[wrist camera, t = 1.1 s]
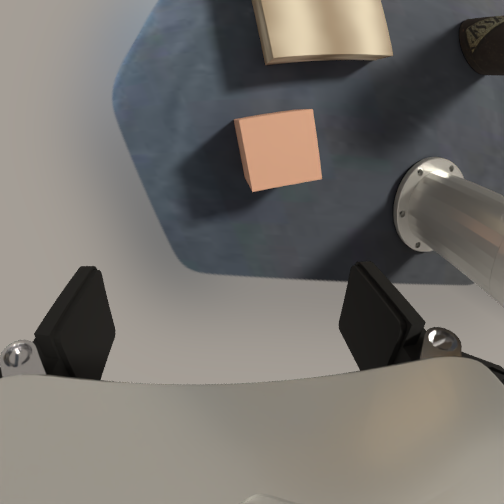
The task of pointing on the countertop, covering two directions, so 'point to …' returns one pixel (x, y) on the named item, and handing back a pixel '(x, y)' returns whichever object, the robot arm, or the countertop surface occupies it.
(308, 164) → the cube
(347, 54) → the base
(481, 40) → the container
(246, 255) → the countertop surface
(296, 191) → the countertop surface
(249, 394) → the robot arm
